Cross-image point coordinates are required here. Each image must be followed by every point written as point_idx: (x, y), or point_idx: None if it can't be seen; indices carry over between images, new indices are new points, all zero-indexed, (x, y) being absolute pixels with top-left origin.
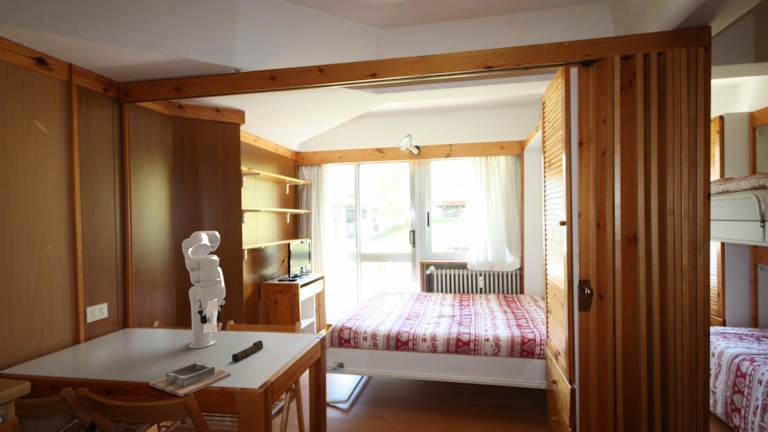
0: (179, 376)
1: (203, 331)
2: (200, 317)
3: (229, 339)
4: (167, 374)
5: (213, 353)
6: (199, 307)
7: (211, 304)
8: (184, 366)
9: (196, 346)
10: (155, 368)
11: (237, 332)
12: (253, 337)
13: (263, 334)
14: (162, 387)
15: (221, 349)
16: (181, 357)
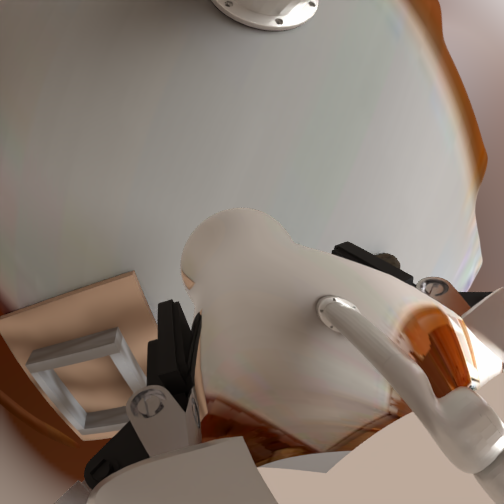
0: (66, 415)
1: (180, 268)
2: (150, 381)
3: (361, 36)
4: (30, 369)
5: (245, 141)
6: (151, 470)
7: None
8: (73, 355)
9: (223, 8)
10: (13, 147)
11: (400, 7)
12: (419, 107)
13: (443, 114)
14: (32, 380)
15: (293, 119)
16: (122, 74)
